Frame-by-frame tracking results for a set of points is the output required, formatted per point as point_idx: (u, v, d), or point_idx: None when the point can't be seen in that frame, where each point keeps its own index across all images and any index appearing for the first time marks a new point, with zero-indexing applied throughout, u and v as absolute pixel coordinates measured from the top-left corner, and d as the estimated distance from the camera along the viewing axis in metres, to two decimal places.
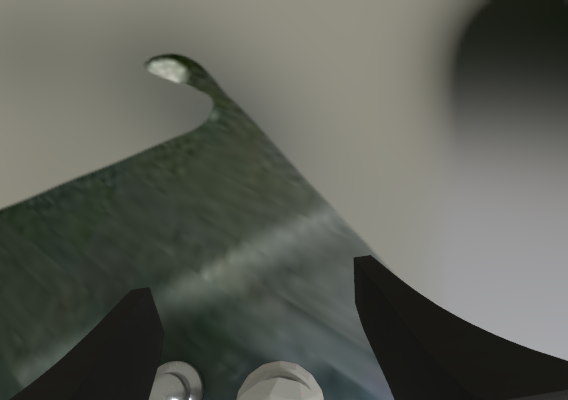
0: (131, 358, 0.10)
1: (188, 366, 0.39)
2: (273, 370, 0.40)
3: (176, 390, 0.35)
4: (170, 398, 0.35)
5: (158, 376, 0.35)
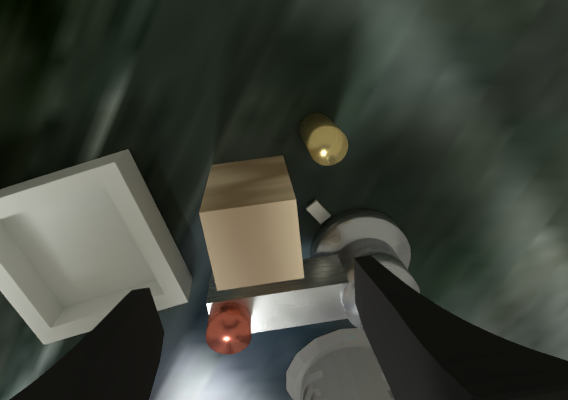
0: (131, 358, 0.10)
1: None
2: None
3: None
4: None
5: (415, 287, 0.19)
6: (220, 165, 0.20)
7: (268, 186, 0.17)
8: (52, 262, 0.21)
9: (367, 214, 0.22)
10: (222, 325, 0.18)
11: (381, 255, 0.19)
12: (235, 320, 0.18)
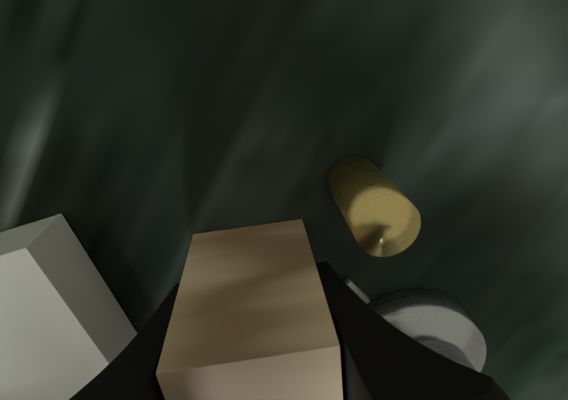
0: None
1: None
2: None
3: None
4: None
5: None
6: (206, 235, 0.13)
7: (284, 298, 0.10)
8: None
9: (425, 302, 0.14)
10: None
11: None
12: None
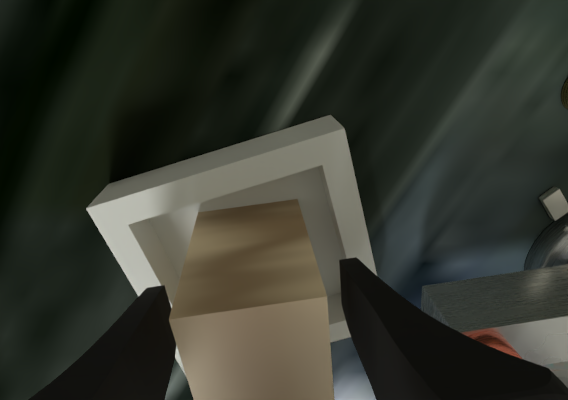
0: (149, 355, 0.10)
1: None
2: None
3: None
4: None
5: None
6: (210, 213, 0.14)
7: (279, 261, 0.11)
8: None
9: None
10: None
11: None
12: None
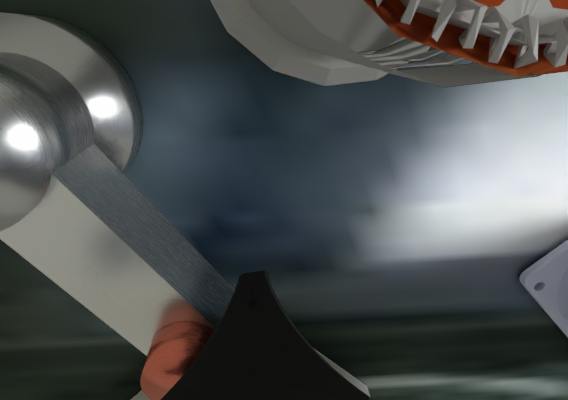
0: None
1: None
2: None
3: None
4: None
5: None
6: None
7: None
8: None
9: None
10: (162, 397, 0.11)
11: None
12: (142, 387, 0.10)
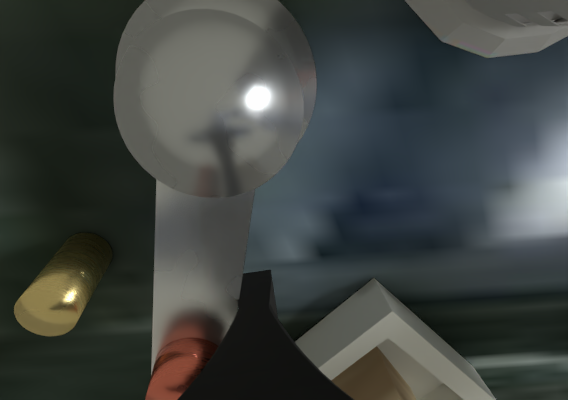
0: None
1: None
2: None
3: (274, 92, 0.08)
4: (250, 123, 0.08)
5: (182, 21, 0.07)
6: None
7: None
8: None
9: None
10: None
11: None
12: (150, 386, 0.10)
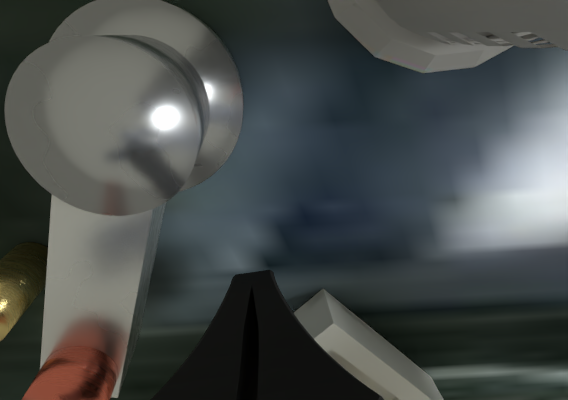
0: (253, 340, 0.11)
1: (112, 1, 0.10)
2: None
3: (168, 123, 0.08)
4: (144, 149, 0.08)
5: (77, 45, 0.07)
6: None
7: None
8: None
9: None
10: None
11: None
12: (26, 392, 0.10)
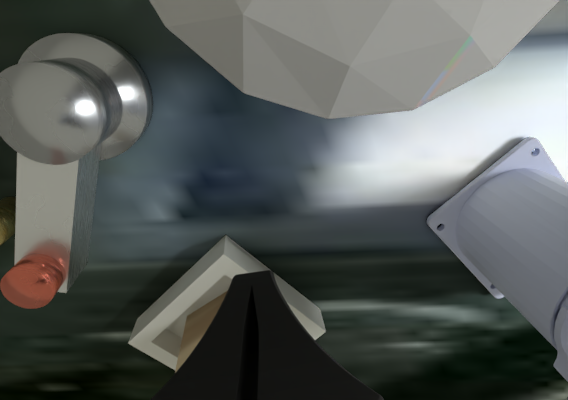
0: (252, 339, 0.11)
1: (56, 37, 0.16)
2: None
3: (80, 110, 0.14)
4: (67, 125, 0.15)
5: (26, 67, 0.14)
6: None
7: None
8: None
9: None
10: (7, 288, 0.17)
11: None
12: (4, 275, 0.16)
